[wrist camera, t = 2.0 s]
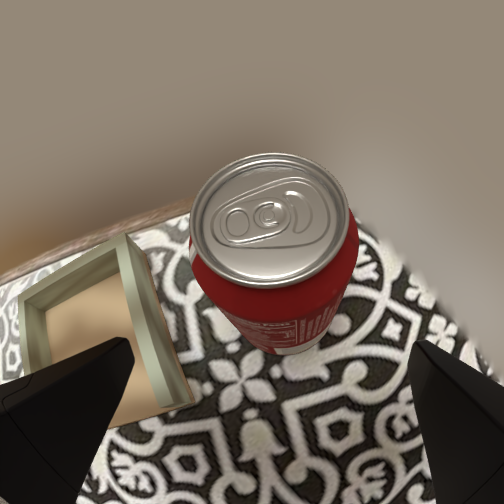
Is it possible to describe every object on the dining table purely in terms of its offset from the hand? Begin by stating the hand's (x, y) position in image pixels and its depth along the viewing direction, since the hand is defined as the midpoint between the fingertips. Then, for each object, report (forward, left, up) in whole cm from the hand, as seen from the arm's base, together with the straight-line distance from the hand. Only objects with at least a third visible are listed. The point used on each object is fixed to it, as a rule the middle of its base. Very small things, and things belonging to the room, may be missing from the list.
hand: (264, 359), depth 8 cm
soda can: (+4, -3, -12) cm, 13 cm away
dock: (+10, +11, -11) cm, 19 cm away
